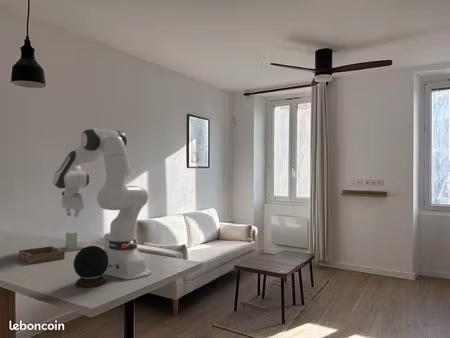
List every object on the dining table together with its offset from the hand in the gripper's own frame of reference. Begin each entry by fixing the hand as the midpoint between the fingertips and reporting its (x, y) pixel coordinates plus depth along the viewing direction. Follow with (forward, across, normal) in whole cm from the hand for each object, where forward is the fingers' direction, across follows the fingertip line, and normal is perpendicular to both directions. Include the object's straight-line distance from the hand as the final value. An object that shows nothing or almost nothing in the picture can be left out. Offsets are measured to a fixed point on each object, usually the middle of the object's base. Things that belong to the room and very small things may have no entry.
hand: (72, 216), depth 200 cm
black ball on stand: (+20, -68, +23) cm, 74 cm away
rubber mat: (+19, 0, 0) cm, 19 cm away
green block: (+18, 0, 0) cm, 18 cm away
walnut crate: (+19, -13, +21) cm, 31 cm away
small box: (+20, -22, -14) cm, 32 cm away
